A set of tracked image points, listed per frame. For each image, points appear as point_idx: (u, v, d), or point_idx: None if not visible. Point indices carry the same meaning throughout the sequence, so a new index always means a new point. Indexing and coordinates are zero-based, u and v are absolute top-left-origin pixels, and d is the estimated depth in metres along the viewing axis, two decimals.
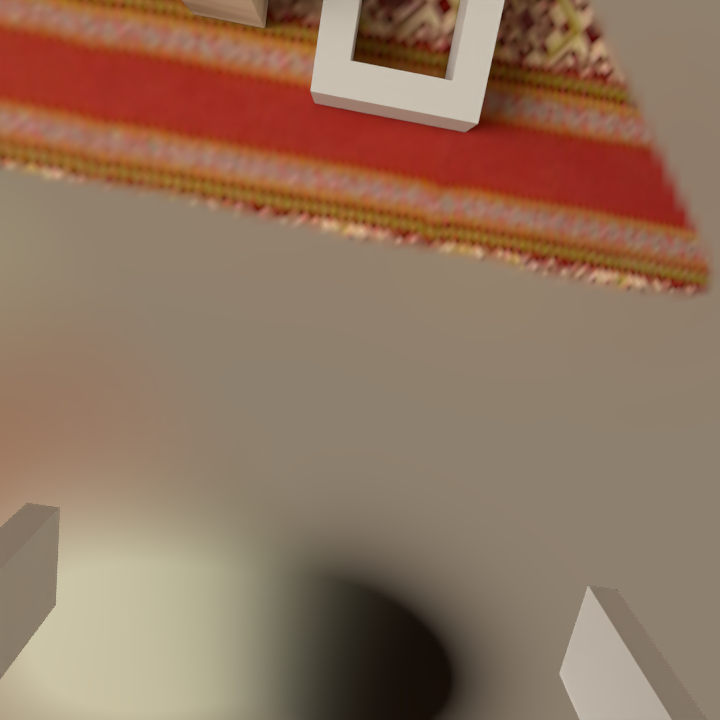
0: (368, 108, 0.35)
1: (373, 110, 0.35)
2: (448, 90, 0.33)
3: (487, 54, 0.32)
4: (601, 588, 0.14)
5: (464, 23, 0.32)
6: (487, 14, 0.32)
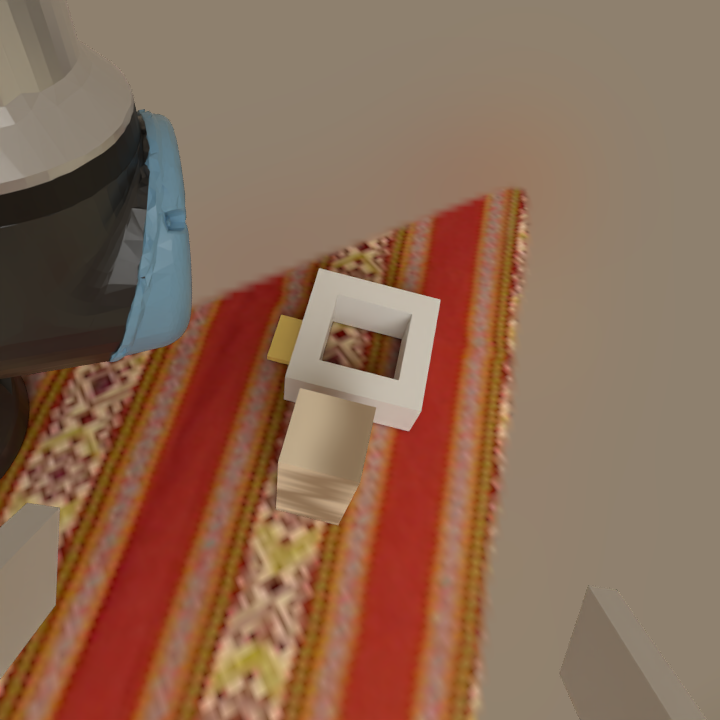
0: None
1: None
2: (418, 316, 0.44)
3: (395, 291, 0.45)
4: (601, 588, 0.14)
5: (375, 303, 0.44)
6: (369, 289, 0.45)
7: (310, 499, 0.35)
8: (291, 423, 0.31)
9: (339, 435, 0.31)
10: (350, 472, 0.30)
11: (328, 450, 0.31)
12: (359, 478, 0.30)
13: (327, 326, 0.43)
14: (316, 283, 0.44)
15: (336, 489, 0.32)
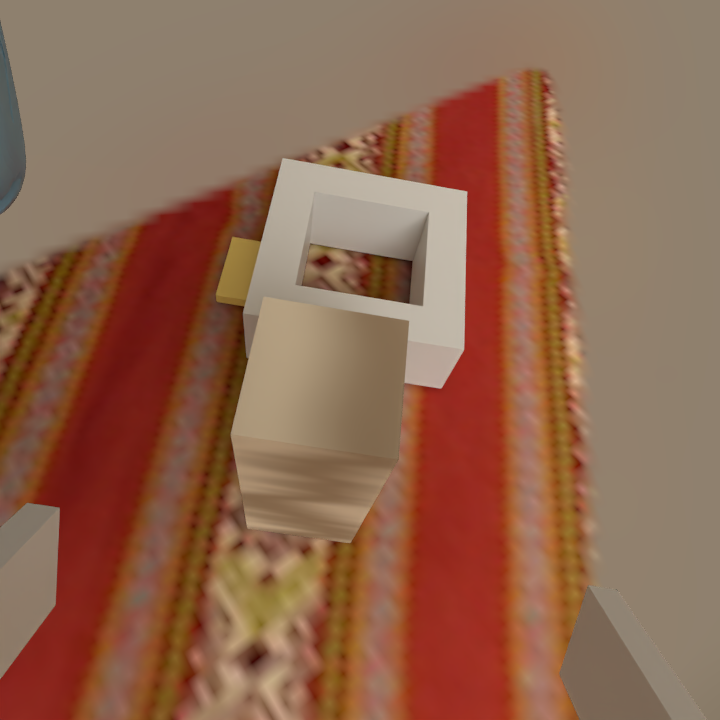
0: None
1: None
2: (439, 215, 0.29)
3: (399, 183, 0.30)
4: (601, 588, 0.14)
5: (371, 201, 0.29)
6: (361, 182, 0.30)
7: (302, 505, 0.20)
8: (252, 360, 0.16)
9: (348, 373, 0.16)
10: (377, 443, 0.15)
11: (329, 404, 0.16)
12: (396, 451, 0.15)
13: (303, 236, 0.27)
14: (280, 178, 0.29)
15: (350, 480, 0.17)
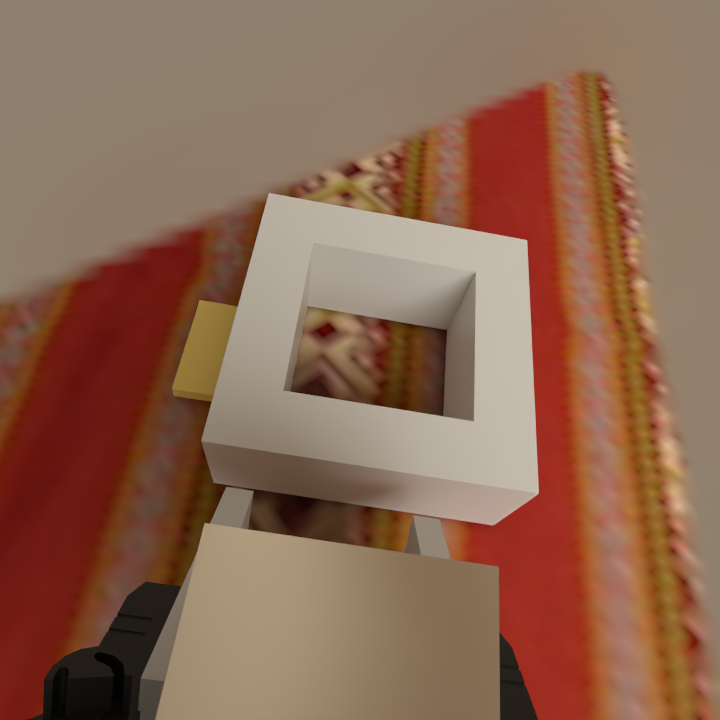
0: None
1: None
2: (490, 276, 0.21)
3: (433, 229, 0.21)
4: (424, 518, 0.16)
5: (394, 256, 0.21)
6: (380, 228, 0.21)
7: None
8: (169, 696, 0.07)
9: (379, 719, 0.07)
10: None
11: None
12: None
13: (296, 311, 0.19)
14: (265, 223, 0.20)
15: None
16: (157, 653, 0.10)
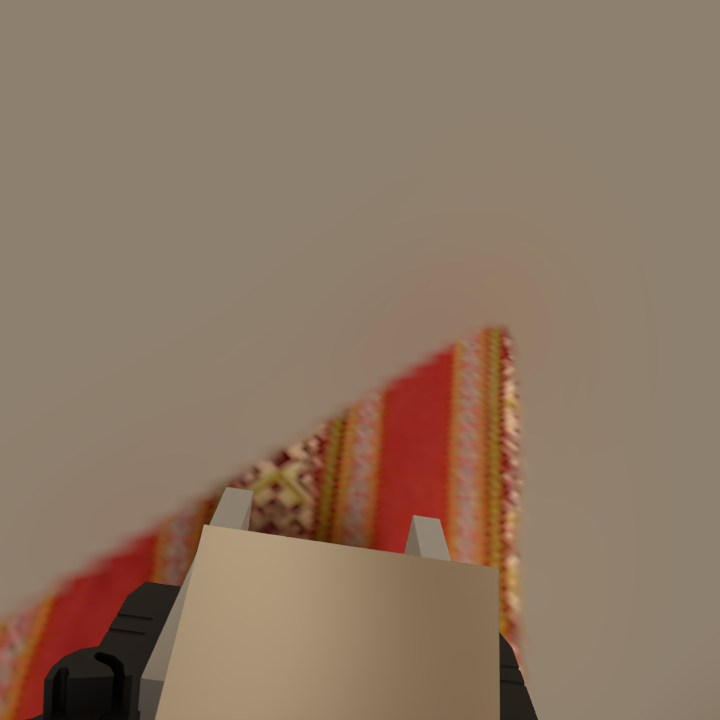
0: None
1: None
2: None
3: None
4: (424, 518, 0.16)
5: None
6: None
7: None
8: (168, 698, 0.07)
9: None
10: None
11: None
12: None
13: None
14: None
15: None
16: (157, 653, 0.10)
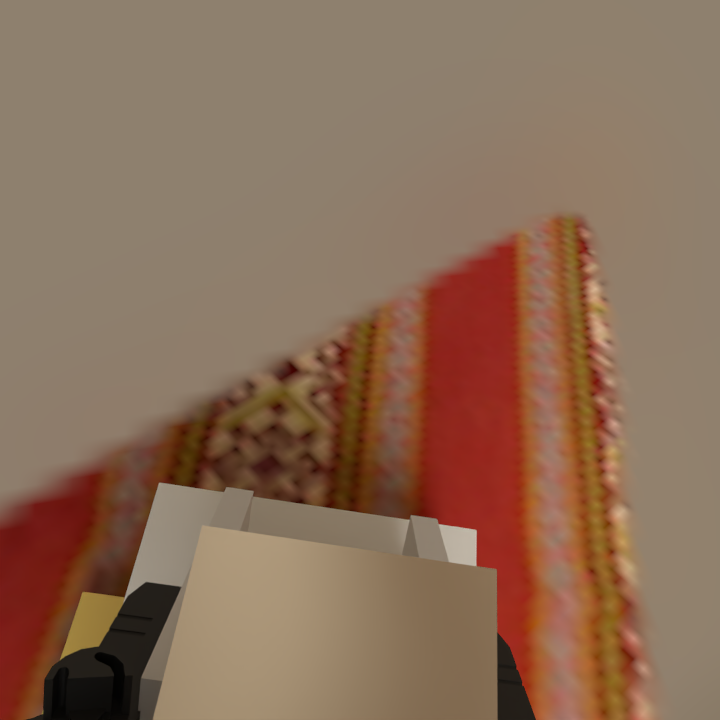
0: None
1: None
2: None
3: (361, 523, 0.18)
4: (422, 518, 0.16)
5: None
6: (295, 528, 0.17)
7: None
8: (166, 699, 0.07)
9: None
10: None
11: None
12: None
13: None
14: (149, 533, 0.17)
15: None
16: (157, 653, 0.10)
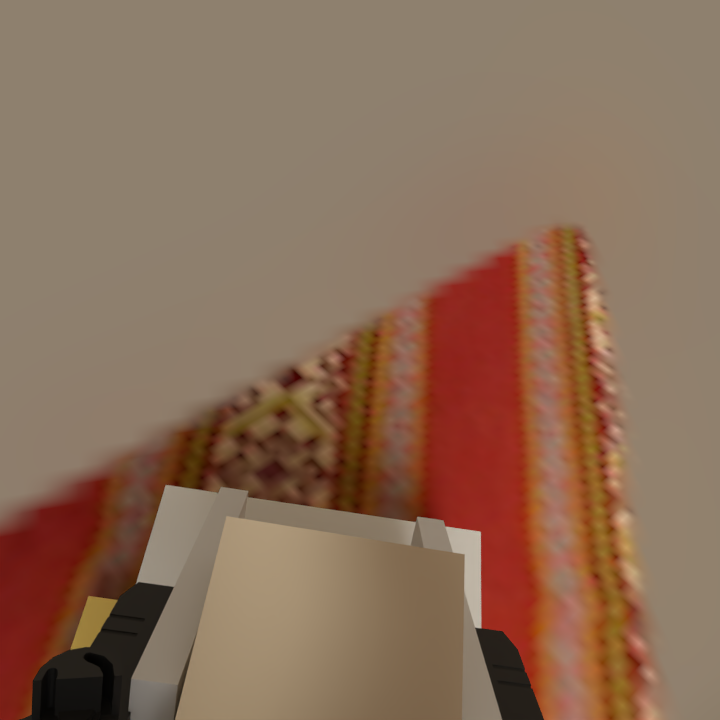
0: None
1: None
2: None
3: (366, 525, 0.18)
4: (428, 519, 0.16)
5: None
6: None
7: None
8: (199, 650, 0.09)
9: (365, 672, 0.09)
10: None
11: None
12: None
13: None
14: (156, 534, 0.17)
15: None
16: (148, 654, 0.10)
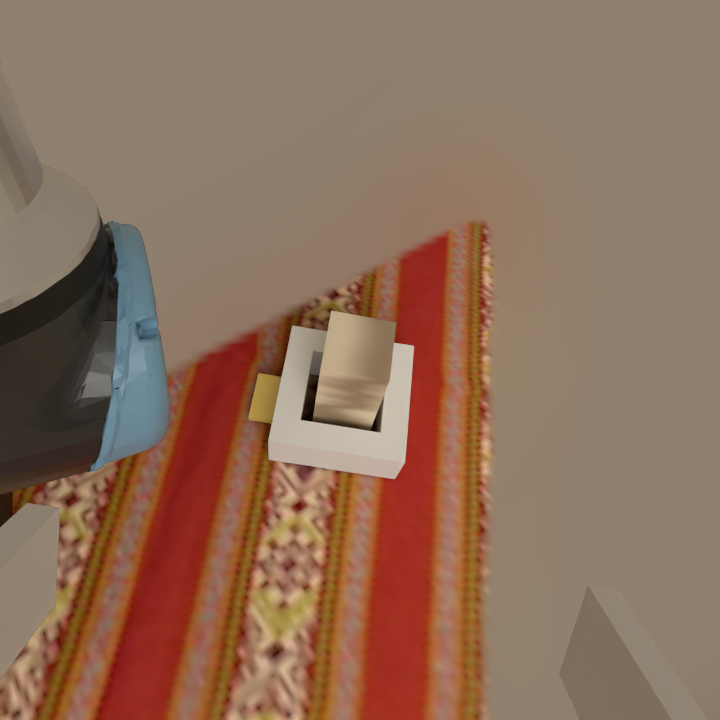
0: None
1: None
2: (394, 365, 0.45)
3: None
4: (601, 588, 0.14)
5: None
6: None
7: (343, 411, 0.41)
8: (327, 338, 0.37)
9: (368, 345, 0.37)
10: (380, 373, 0.36)
11: (361, 357, 0.37)
12: (388, 377, 0.36)
13: (305, 384, 0.43)
14: (291, 341, 0.45)
15: (368, 393, 0.38)
16: None
